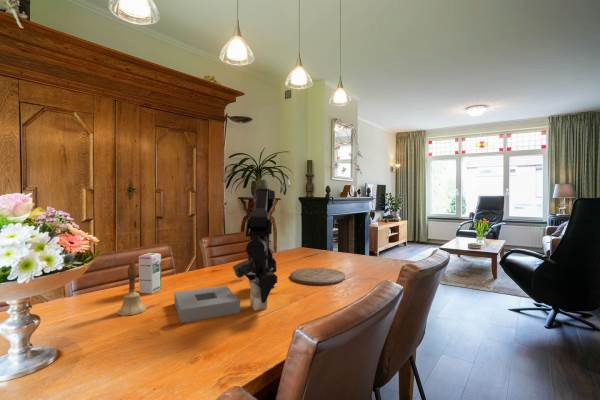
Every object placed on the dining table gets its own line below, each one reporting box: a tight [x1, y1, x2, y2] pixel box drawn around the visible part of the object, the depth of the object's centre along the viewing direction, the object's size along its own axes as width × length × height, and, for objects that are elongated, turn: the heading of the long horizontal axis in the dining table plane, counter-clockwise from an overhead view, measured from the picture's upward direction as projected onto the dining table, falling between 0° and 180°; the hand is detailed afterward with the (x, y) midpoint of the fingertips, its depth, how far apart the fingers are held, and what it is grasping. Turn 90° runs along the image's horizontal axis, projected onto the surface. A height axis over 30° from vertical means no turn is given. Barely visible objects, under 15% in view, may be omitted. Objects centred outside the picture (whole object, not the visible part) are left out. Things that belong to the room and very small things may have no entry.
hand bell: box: [116, 261, 147, 317], centre depth 102 cm, size 8×8×16 cm
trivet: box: [289, 267, 346, 286], centre depth 144 cm, size 25×25×2 cm
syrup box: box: [138, 252, 163, 294], centre depth 122 cm, size 6×6×14 cm
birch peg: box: [249, 280, 268, 312], centre depth 106 cm, size 4×4×9 cm
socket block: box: [173, 285, 241, 324], centre depth 105 cm, size 18×18×4 cm
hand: (258, 298), depth 106 cm, fingers open, 9 cm apart
